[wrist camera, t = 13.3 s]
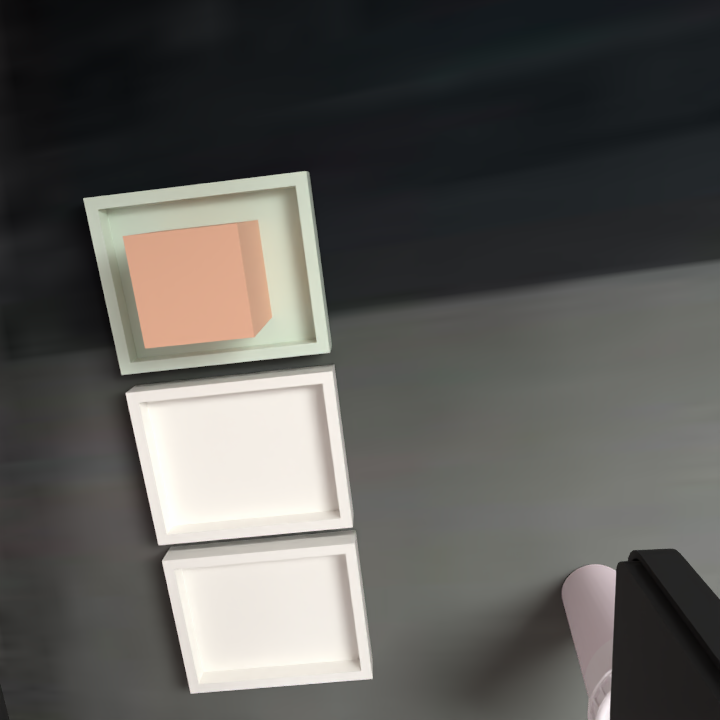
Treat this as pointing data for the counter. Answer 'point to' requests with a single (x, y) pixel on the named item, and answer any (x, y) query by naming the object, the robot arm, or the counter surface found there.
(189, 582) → the tray
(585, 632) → the smoothie
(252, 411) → the tray
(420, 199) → the counter surface
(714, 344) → the counter surface
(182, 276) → the light orange cube
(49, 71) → the counter surface
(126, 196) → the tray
